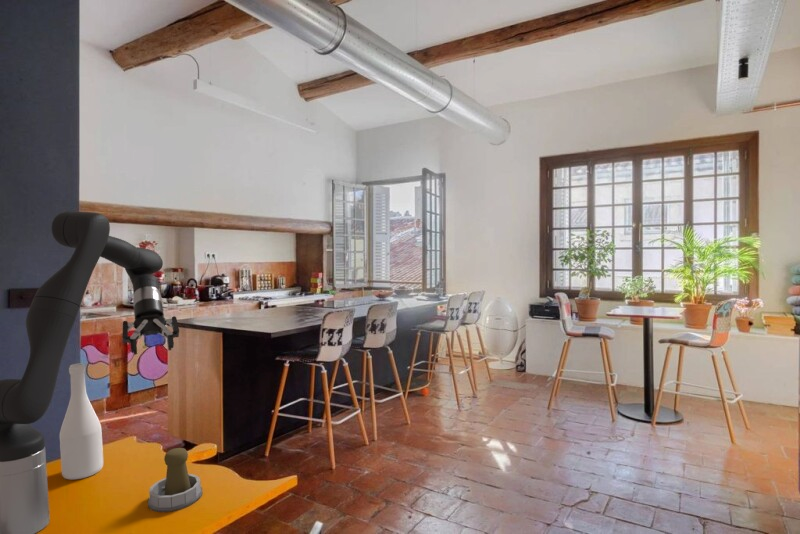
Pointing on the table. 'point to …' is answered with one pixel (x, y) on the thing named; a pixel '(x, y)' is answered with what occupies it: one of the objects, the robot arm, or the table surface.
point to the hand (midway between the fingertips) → (153, 350)
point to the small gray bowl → (174, 496)
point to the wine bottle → (80, 432)
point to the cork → (176, 471)
